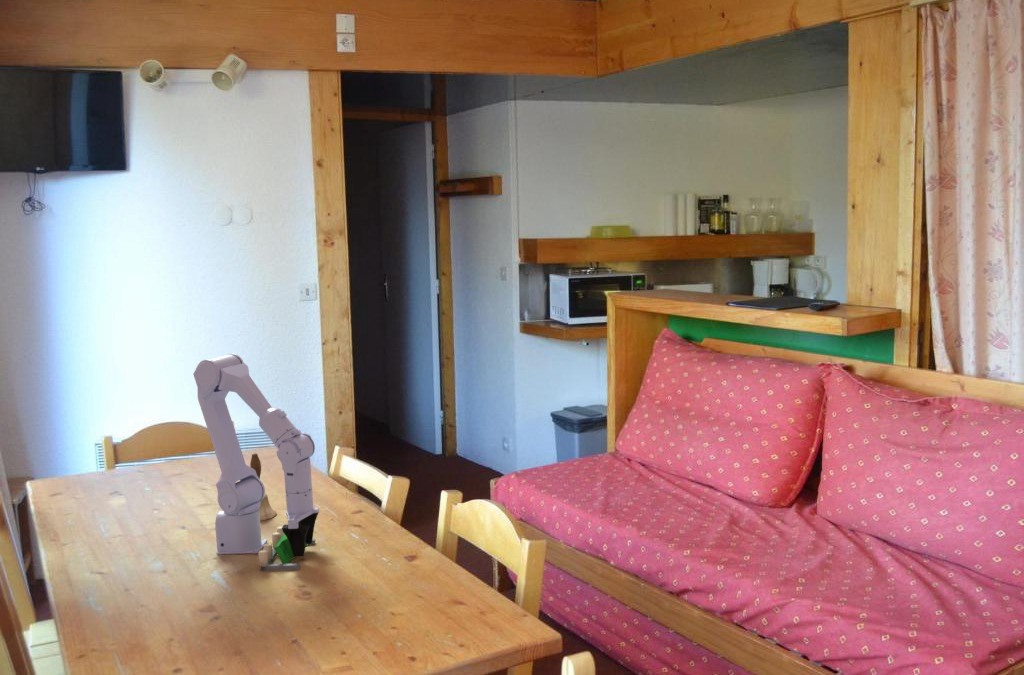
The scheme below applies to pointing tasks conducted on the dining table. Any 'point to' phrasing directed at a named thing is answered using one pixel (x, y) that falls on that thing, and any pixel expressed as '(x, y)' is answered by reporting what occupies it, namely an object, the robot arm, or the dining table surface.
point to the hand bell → (265, 507)
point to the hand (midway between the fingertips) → (303, 549)
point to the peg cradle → (270, 554)
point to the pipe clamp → (284, 550)
